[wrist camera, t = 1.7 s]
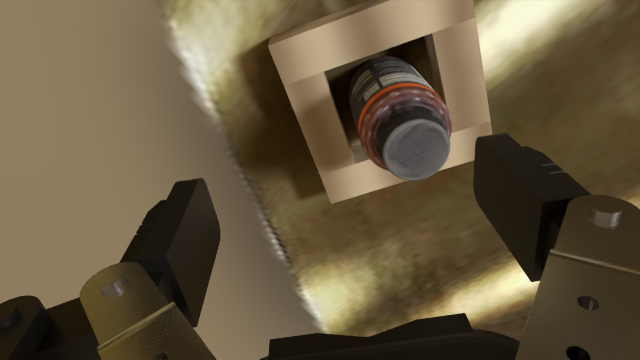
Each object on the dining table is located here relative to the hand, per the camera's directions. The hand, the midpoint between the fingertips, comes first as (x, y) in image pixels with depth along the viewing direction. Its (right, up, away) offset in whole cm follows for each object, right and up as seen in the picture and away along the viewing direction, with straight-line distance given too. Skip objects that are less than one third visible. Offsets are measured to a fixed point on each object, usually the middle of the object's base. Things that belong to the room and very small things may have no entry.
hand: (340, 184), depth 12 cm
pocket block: (+5, +7, +21) cm, 23 cm away
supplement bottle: (+5, +7, +22) cm, 23 cm away
